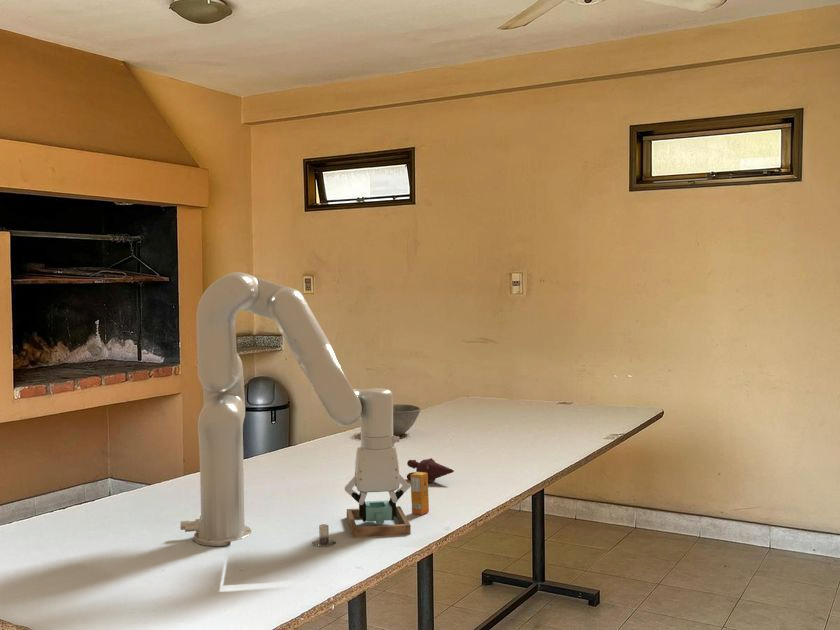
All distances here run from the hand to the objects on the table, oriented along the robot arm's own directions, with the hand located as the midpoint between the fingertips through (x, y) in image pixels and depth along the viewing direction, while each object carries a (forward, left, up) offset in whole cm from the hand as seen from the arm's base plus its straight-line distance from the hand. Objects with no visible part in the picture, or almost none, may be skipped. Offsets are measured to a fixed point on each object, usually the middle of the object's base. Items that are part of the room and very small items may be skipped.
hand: (377, 518), depth 186 cm
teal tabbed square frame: (0, 0, 0) cm, 0 cm away
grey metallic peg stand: (-13, -10, -3) cm, 17 cm away
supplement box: (+12, +11, -3) cm, 17 cm away
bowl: (+21, +110, -3) cm, 112 cm away
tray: (0, 0, -3) cm, 3 cm away
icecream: (+20, +40, -3) cm, 45 cm away
